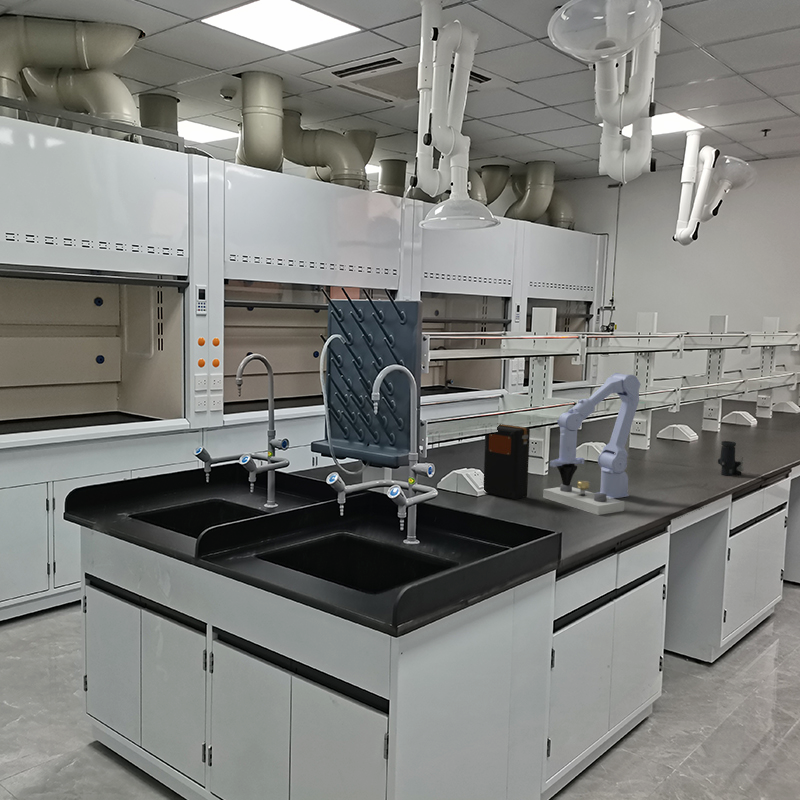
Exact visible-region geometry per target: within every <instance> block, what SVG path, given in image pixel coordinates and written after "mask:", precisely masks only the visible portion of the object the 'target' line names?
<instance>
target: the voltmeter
mask: <svg viewBox="0 0 800 800" xmlns="http://www.w3.org/2000/svg"><path fill="white" fill-rule="evenodd" d="M499 424H500V425H499V426H498V427H497V430H498V432H496V433H494V434H489V435H484V458H483V459H484V461H483V463H484V464H483V465H484V466H483V486H484V490H485V491H486V492H487V493H486V494H490V495H494V496H495V495H496V496H499V497H503V498H509V499H512V500H518V499H520V498H525V499H526V498H527V497H528V488H529V487H528V484H529V483H528V482H529V481H528V479H529V477H528V476H529V459H530V435H531V433H530V431H531V429H530V428H529V427H525V426H519V425H512V424H511V425H509V424H503V423H499ZM501 424H502V425H501Z"/></svg>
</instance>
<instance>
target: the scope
mask: <svg viewBox="0 0 800 800" xmlns="http://www.w3.org/2000/svg"><path fill="white" fill-rule="evenodd" d="M736 444H737V443H736V442H735V441H726V440H723V441H721V445H722V446H721V450H720V456H719V457H720V458H718V460H717V463H718V464H719V465H720V466H721V473H720V475H721V476H724V477H732V476H734V475H737V476H739V475H742V474H743V473H742V472H744V470H745V468H744V467H743V466H744V456H741V457H740V460H739V461H736V446H737V445H736Z"/></svg>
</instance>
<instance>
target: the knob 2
mask: <svg viewBox="0 0 800 800" xmlns="http://www.w3.org/2000/svg"><path fill="white" fill-rule="evenodd" d="M594 493H595V494H594V500H595V501H598V502H606V500H607V495H606V494H603V493H598V492H594Z"/></svg>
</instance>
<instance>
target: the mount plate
mask: <svg viewBox="0 0 800 800" xmlns="http://www.w3.org/2000/svg"><path fill="white" fill-rule="evenodd" d="M580 490H581V489H580V488H577V487H573V486H572V491H571V492H564V491H560V486H557V487H552V488H551V487H550V488H543V492H542V493H543V494H542V498H543V499H547V500H550V501H553V502H555V503H559V504H562V505H565V506H569V507H572V508H575V509H577V510H578V509H579V510H581V511H584V512H588V513H590V514H594V515H597V516H602V515H606V514H612V513H619V512H624V511H625V501H622V500H619V499H617V498H614V499H613V498H609V497H607V500H606V502H598V501H595V500H594V494H595V493H596V492H591V491H588V490H585V496H580Z"/></svg>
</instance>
